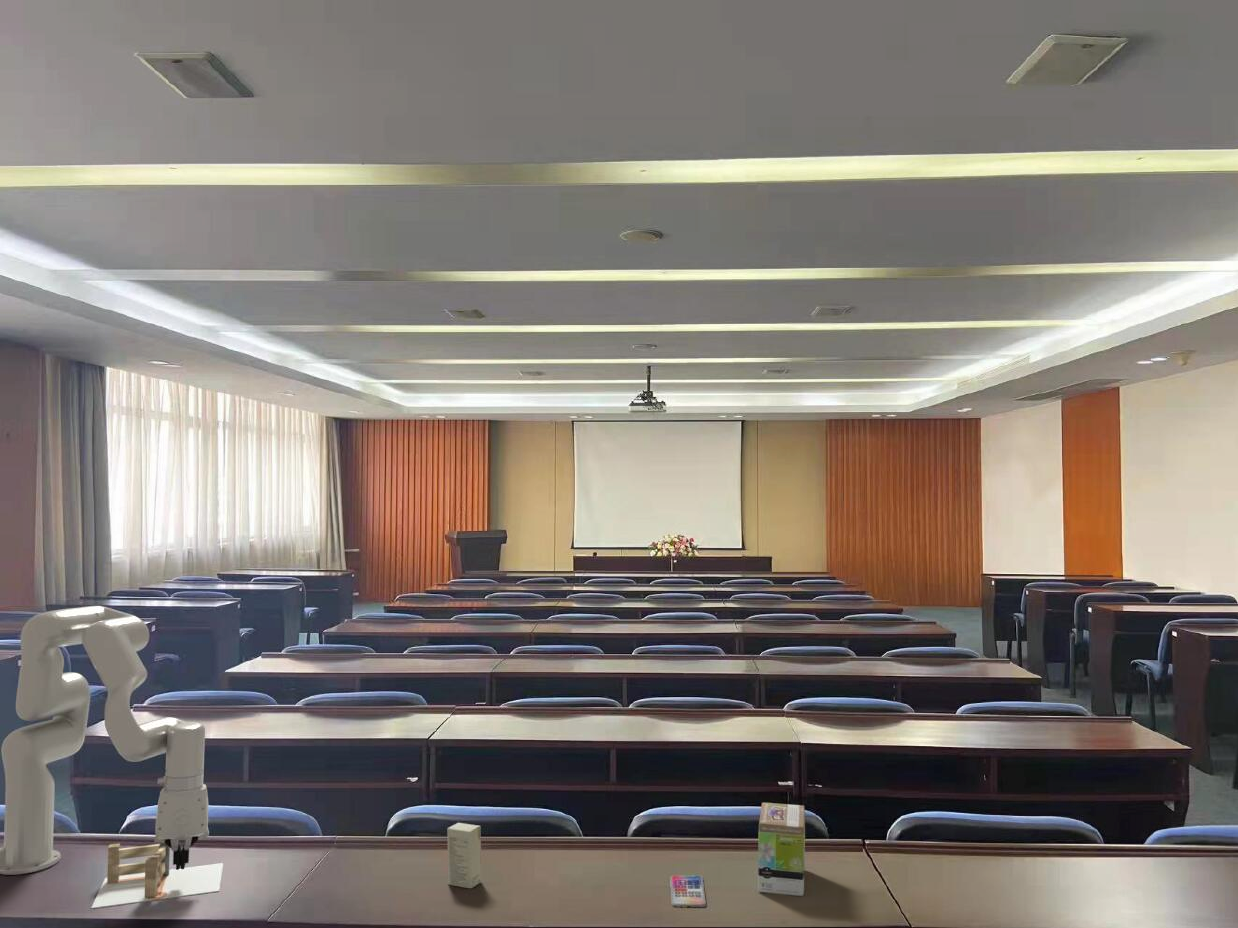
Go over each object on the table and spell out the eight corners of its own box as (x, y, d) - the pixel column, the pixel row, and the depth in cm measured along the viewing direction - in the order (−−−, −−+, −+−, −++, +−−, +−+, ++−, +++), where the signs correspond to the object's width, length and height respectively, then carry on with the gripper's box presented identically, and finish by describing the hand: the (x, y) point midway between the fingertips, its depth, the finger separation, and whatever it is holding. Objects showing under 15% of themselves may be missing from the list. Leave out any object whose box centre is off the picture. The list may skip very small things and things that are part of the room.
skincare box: (482, 882, 199) (482, 825, 200) (470, 889, 195) (471, 832, 196) (457, 877, 202) (458, 821, 202) (446, 884, 198) (446, 827, 198)
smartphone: (670, 904, 187) (669, 874, 202) (671, 909, 187) (669, 879, 202) (706, 904, 187) (702, 874, 202) (706, 909, 187) (703, 879, 202)
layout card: (91, 909, 186) (91, 907, 186) (105, 878, 201) (105, 877, 201) (219, 891, 194) (219, 890, 194) (223, 863, 209) (223, 862, 209)
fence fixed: (107, 885, 197) (108, 843, 198) (108, 881, 199) (109, 839, 200) (168, 877, 202) (169, 836, 202) (169, 873, 203) (170, 833, 204)
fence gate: (157, 876, 201) (158, 842, 201) (167, 875, 201) (168, 841, 201) (144, 897, 190) (145, 861, 190) (155, 896, 190) (155, 860, 191)
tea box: (805, 897, 192) (804, 826, 192) (757, 893, 194) (757, 822, 194) (805, 869, 206) (804, 803, 207) (760, 865, 208) (760, 800, 209)
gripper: (143, 789, 191) (139, 878, 190) (220, 783, 196) (217, 869, 196) (148, 779, 198) (144, 864, 197) (222, 773, 203) (219, 856, 203)
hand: (180, 866), depth 197 cm, fingers closed
